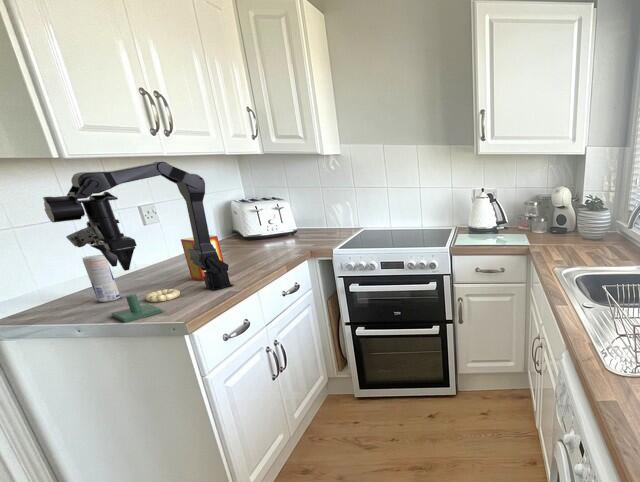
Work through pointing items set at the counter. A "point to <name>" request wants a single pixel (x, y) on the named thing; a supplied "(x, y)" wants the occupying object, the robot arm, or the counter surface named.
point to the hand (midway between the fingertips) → (120, 268)
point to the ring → (162, 295)
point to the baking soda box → (194, 269)
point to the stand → (135, 310)
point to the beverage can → (101, 278)
